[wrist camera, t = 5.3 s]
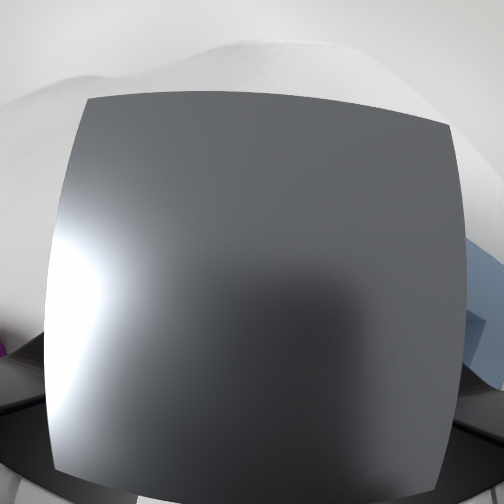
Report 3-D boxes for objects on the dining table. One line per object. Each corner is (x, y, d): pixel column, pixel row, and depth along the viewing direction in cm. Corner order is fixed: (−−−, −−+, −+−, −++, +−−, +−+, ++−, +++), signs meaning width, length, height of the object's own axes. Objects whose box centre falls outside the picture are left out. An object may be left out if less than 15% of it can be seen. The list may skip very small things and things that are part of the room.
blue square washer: (448, 442, 19) (468, 454, 16) (308, 393, 20) (316, 407, 17) (509, 290, 21) (532, 288, 18) (389, 212, 22) (407, 200, 19)
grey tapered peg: (286, 342, 15) (434, 489, 2) (211, 337, 15) (54, 468, 2) (290, 269, 15) (449, 124, 3) (217, 264, 15) (87, 99, 3)
